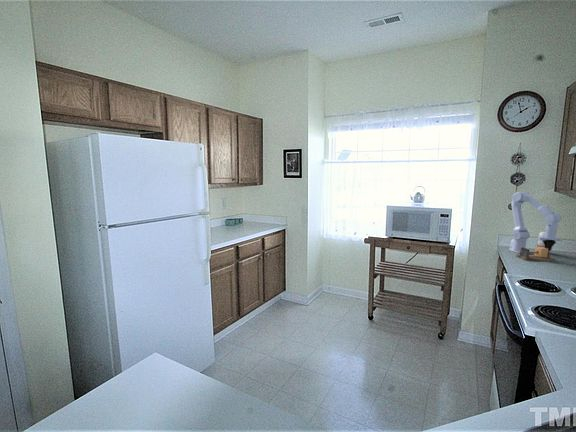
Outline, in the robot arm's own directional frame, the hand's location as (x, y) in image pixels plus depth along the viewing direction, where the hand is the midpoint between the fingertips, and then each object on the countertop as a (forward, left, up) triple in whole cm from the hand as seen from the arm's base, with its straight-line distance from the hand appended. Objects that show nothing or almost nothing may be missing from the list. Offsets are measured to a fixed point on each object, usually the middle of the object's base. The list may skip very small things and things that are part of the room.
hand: (547, 250), depth 210 cm
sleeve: (0, -4, -4) cm, 6 cm away
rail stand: (0, -7, -6) cm, 10 cm away
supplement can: (-17, +11, -6) cm, 21 cm away
